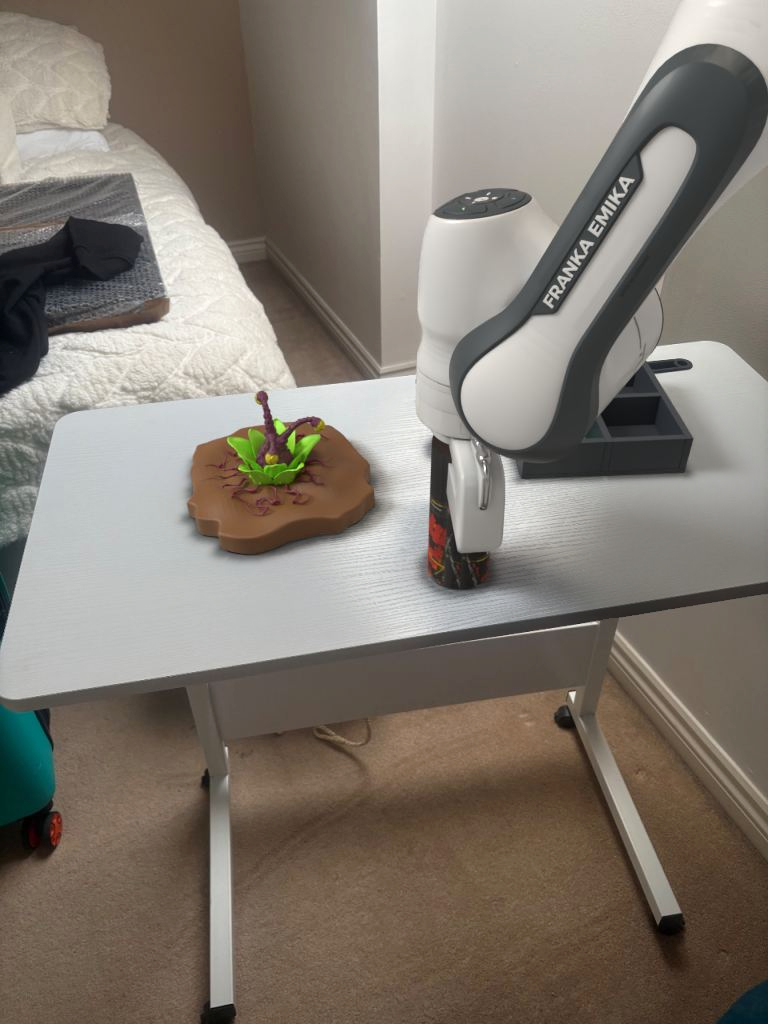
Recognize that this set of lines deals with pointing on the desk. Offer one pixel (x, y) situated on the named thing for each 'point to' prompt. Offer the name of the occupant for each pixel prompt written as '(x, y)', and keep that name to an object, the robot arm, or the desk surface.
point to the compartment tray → (626, 437)
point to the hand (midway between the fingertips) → (460, 521)
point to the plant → (278, 484)
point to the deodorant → (448, 532)
